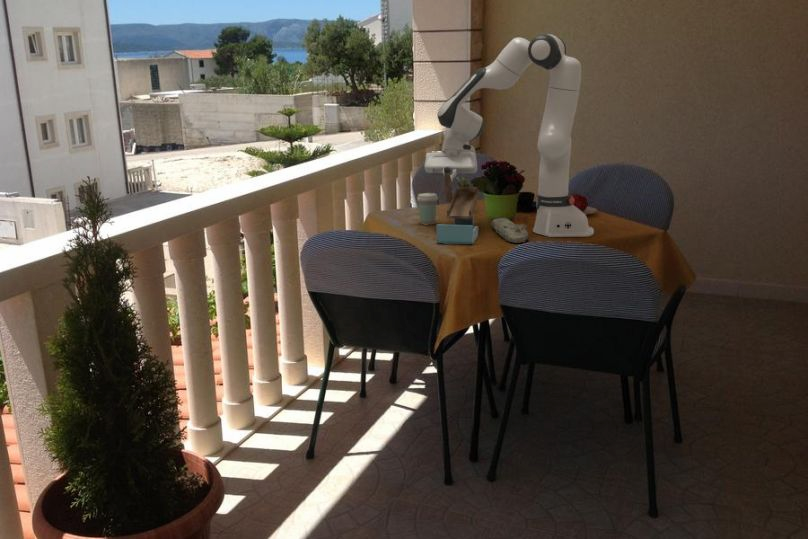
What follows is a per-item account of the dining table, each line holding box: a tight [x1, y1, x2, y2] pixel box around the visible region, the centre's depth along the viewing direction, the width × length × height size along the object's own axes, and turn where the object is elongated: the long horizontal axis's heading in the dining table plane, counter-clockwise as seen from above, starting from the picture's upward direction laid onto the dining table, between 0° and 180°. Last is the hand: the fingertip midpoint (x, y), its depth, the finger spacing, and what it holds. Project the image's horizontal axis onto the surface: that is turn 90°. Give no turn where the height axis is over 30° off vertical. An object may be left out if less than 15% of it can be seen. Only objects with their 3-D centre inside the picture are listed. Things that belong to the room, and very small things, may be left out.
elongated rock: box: [491, 217, 530, 244], centre depth 276 cm, size 35×5×10 cm
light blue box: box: [435, 223, 479, 245], centre depth 267 cm, size 13×13×7 cm
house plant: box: [452, 176, 474, 194], centre depth 316 cm, size 14×14×16 cm
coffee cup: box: [416, 192, 439, 225], centre depth 295 cm, size 8×8×12 cm
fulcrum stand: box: [454, 213, 475, 226], centre depth 280 cm, size 10×6×9 cm, turn 76°
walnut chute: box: [443, 167, 480, 219], centre depth 275 cm, size 12×20×18 cm, turn 166°
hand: (448, 180), depth 277 cm, fingers closed, pressing on walnut chute
